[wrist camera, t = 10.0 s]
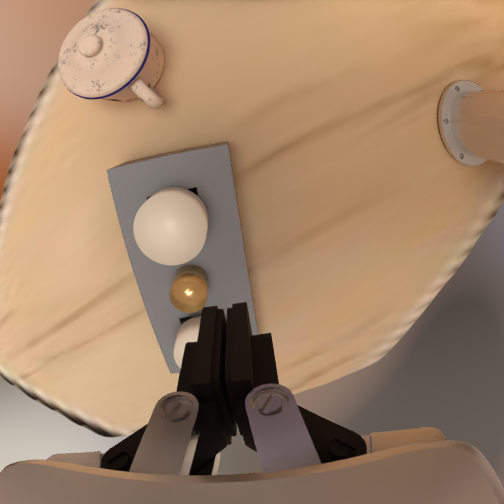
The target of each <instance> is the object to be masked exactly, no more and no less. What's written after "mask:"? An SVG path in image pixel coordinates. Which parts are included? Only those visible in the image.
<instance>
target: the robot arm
mask: <svg viewBox="0 0 504 504" xmlns="http://www.w3.org/2000/svg"><path fill="white" fill-rule="evenodd" d="M438 124H439V130H440V134H441V137H442V140H443V143H444V145H445V147H446V149H447V150H448V152H449V153H450V155H451V156H452V157H453V158H454V159H455V160H457V161H458V162H460V163H462V164H464V165H468V166H478V165H481V164H483V163H484V162H486V161H487V160H491V161H494V162H498V163H502V164H504V91H485V90H484V89H483V88H481V87H480V86H479V85H478V84H476V83H474V82H471V81H467V80H462V81H456V82H454V83H452V84H450V85H449V86H448V87H447V88H446V90H445V91H444V92H443V95H442V97H441V99H440V103H439V109H438ZM237 425H238V428H239V432H240V434H241V435H243V438H244V441H245V445H247V446H248V447H249V448H251V449H252V450H255V451H256V452H257V454H258V457H259V461H260V465H261V469H262V472H261V473H249V474H235V475H217V472H218V467H219V462H220V451H222V450H223V449H224V448H225V447H226V446H227V445H229V444H231V436H236V435H237ZM0 504H504V489H503V486H502V484H501V482H500V481H499V479H498V477H497V475H496V474H495V472H494V470H493V468H492V467H491V465H490V464H489V462H488V461H487V460H486V458H485V457H484V456H483V455H482V454H481V453H480V451H478V450H477V449H476V448H475V447H473V446H472V445H470V444H467V443H463V442H458V441H446V438H445V436H444V434H443V433H442V432H441V431H440V430H438V429H436V428H433V427H423V428H416V429H408V430H399V431H388V432H378V433H371V435H370V436H360V435H358V434H357V433H355V432H353V431H351V430H349V429H346V428H344V427H342V426H340V425H337V424H335V423H333V422H331V421H329V420H326V419H325V418H322V417H320V416H318V415H316V414H314V413H312V412H310V411H308V410H306V409H304V408H302V407H300V406H298V405H297V404H296V401H295V399H294V396H293V394H292V393H291V391H290V390H289V389H288V388H286V387H285V386H282V385H279V382H278V375H277V369H276V362H275V356H274V349H273V342H272V336H271V333H267V334H259V335H252V329H251V323H250V318H249V312H248V306H247V302H242V303H234V304H232V308H227V323H226V318H225V314H224V310H223V309H218V306H210V307H203V308H202V314H201V320H200V326H199V333H198V339H197V342H187V343H186V345H185V349H184V354H183V359H182V364H181V370H180V375H179V381H178V386H177V392H173V393H169V394H167V395H165V396H163V397H162V398H161V399H160V400H159V401H158V402H157V404H156V406H155V408H154V410H153V413H152V415H151V418H150V420H149V422H148V424H147V425H145V426H144V427H142V428H141V429H139V430H138V431H136V432H135V433H133V434H132V435H130V436H129V437H127V438H126V439H124V440H123V441H121V442H120V443H118V444H117V445H115V446H114V447H112V448H110V449H109V450H108V451H107V452H106V453H105V454H102V453H101V452H100V451H98V452H85V453H67V454H56V455H52V456H51V457H49V458H48V459H47V460H26V461H19V462H16V463H12V464H10V465H8V466H6V467H5V468H4V469H3V470H2V471H1V472H0Z"/></svg>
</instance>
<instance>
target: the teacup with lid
mask: <svg viewBox="0 0 504 504" xmlns="http://www.w3.org/2000/svg"><path fill="white" fill-rule="evenodd" d="M58 67H59V74H60V77H61V79H62V81H63V83H64V85H65V86H66V87H67V89H68V90H69V91H71V92H72V93H73V94H75V95H76V96H79V97H81V98H85V99H106V100H112V101H117V102H126V101H132V100H135V99H137V98H140V99H141V100H142V101H143V102H144V103H146V104H147V105H148V106H149V107H151V108H153V109H158V108H159V107H160V106H161V105H162V104H163V98H162V97H161V95H160V94H159V93H158V92H157V91H156V89H155V88H154V86H155V85H156V83H157V82H158V80H159V78H160V76H161V74H162V71H163V68H164V54H163V50H162V48H161V46H160V44H159V43H158V42H157V41H156V39H155V38H154V37H153V36H152V35H151V33H150V32H149V30H148V28H147V26H146V24H145V22H144V21H143V20H142V19H141V18H140V17H139V16H138V15H137V14H135V13H134V12H131V11H129V10H126V9H120V8H109V9H103V10H100V11H97V12H94V13H92V14H90V15H88V16H87V17H85V18H84V19H82V20H81V21H80V22H79V23H77V24H76V25H75V27H73V29H72V30H71V31H70V32H69V34H68V35H67V37H66V38H65V40H64V42H63V44H62V47H61V50H60V54H59V60H58Z"/></svg>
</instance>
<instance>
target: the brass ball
mask: <svg viewBox="0 0 504 504" xmlns="http://www.w3.org/2000/svg"><path fill="white" fill-rule="evenodd" d="M207 291H208V276H207V274H206V272H205V271H204V270H203V269H202V268H201V267H199V266H196V265H185V266H182V267H181V268H179V269H178V270H177V272H176V274H175V277H174V280H173V284H172V287H171V290H170V300H171V303H172V304H173V306H174V307H175V308H177V309H178V310H180V311H182V312H186V313H193V312H197V311H199V310H201V309H202V308H203V307H204V306H205V304H206V301H207Z"/></svg>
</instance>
